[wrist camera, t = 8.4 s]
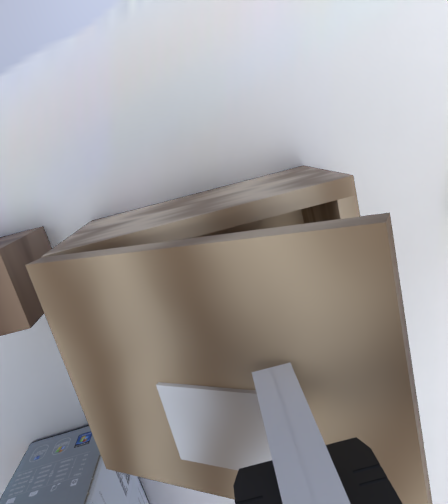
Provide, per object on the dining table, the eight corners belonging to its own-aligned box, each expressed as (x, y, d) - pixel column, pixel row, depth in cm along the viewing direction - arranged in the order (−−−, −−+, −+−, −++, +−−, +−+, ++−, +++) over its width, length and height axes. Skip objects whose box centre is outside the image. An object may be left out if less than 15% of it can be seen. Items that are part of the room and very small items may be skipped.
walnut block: (3, 305, 31) (-51, 348, 25) (-23, 243, 30) (-87, 271, 23) (66, 288, 31) (30, 328, 25) (43, 226, 30) (-2, 249, 23)
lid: (118, 455, 23) (103, 471, 22) (42, 257, 20) (21, 266, 19) (434, 521, 15) (434, 552, 14) (389, 212, 12) (384, 224, 11)
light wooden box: (140, 362, 33) (116, 452, 24) (91, 220, 30) (41, 256, 20) (332, 313, 33) (387, 382, 23) (303, 165, 30) (353, 175, 20)
